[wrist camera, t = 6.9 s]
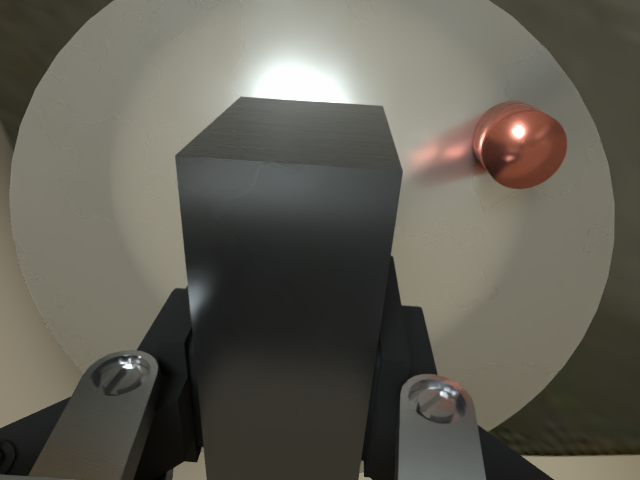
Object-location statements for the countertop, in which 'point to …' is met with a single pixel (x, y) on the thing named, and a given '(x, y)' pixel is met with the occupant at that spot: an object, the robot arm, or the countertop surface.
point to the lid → (313, 207)
